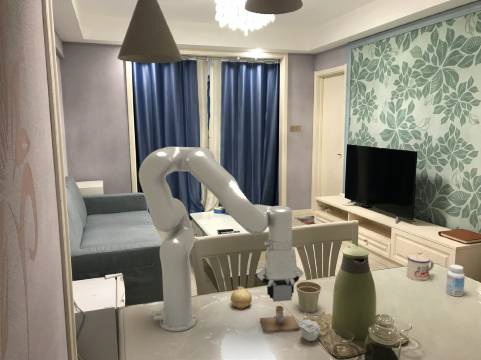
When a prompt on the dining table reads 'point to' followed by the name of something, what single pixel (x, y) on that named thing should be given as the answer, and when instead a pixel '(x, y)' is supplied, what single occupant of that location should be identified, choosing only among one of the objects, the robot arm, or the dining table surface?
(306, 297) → the flower pot
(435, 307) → the dining table surface
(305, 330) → the crumpled paper ball
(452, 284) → the pill bottle
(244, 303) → the onion
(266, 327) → the keeper
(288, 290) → the link
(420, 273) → the teacup with lid
